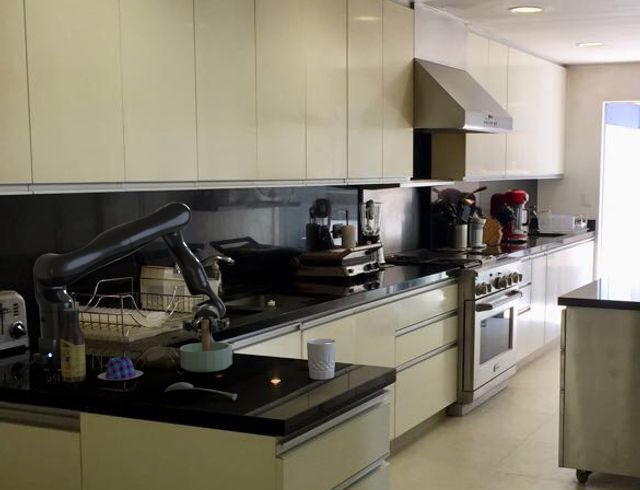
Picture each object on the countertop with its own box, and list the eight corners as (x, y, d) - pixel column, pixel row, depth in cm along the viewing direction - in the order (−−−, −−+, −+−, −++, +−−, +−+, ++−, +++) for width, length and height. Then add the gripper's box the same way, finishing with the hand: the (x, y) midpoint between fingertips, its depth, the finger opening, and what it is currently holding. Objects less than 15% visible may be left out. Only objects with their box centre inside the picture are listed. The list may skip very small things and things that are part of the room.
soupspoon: (176, 391, 244) (159, 397, 238) (175, 378, 243) (157, 385, 237) (243, 396, 233) (226, 404, 228) (242, 383, 233) (225, 390, 227)
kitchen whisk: (207, 356, 283) (206, 336, 282) (190, 338, 314) (190, 320, 313) (227, 355, 285) (226, 334, 284) (209, 337, 316) (208, 318, 316)
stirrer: (207, 367, 265) (205, 322, 263) (193, 365, 268) (191, 320, 266) (219, 363, 270) (218, 319, 268) (206, 361, 272) (204, 318, 270)
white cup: (340, 374, 257) (339, 339, 256) (330, 381, 250) (329, 344, 249) (314, 373, 260) (313, 338, 258) (303, 379, 252) (302, 343, 251)
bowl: (207, 375, 259) (206, 353, 258) (169, 369, 266) (168, 348, 265) (242, 365, 271) (242, 344, 270) (206, 360, 279) (205, 340, 278)
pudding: (122, 370, 265) (121, 352, 264) (152, 375, 259) (151, 356, 258) (88, 379, 255) (87, 360, 254) (118, 384, 249) (117, 365, 248)
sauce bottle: (58, 380, 254) (54, 308, 251) (81, 377, 258) (77, 306, 255) (67, 384, 249) (62, 311, 246) (90, 381, 253) (86, 309, 250)
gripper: (181, 307, 279) (178, 317, 262) (230, 306, 282) (229, 315, 265) (183, 332, 280) (179, 343, 263) (231, 330, 283) (230, 340, 266)
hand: (204, 329), depth 264 cm, fingers open, 4 cm apart
